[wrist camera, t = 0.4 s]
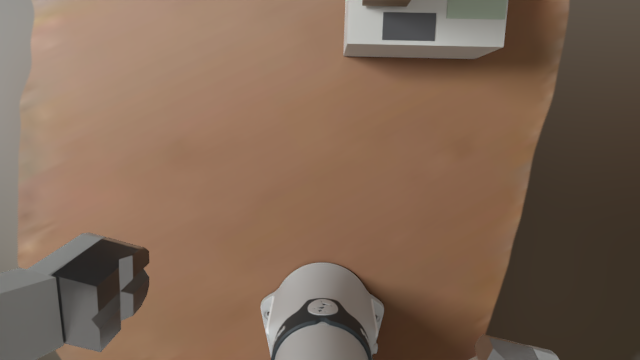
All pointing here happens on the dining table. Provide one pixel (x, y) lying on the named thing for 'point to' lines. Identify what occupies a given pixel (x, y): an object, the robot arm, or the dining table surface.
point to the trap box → (425, 29)
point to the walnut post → (385, 3)
